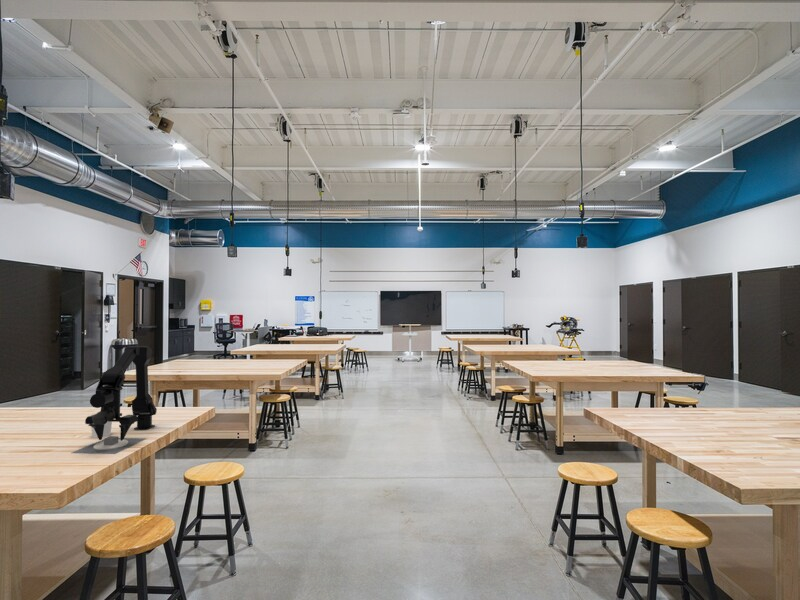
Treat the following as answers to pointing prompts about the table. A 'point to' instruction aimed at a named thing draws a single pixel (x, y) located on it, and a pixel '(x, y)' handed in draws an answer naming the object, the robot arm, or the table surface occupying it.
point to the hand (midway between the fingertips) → (111, 440)
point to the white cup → (106, 430)
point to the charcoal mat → (111, 451)
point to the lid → (110, 443)
